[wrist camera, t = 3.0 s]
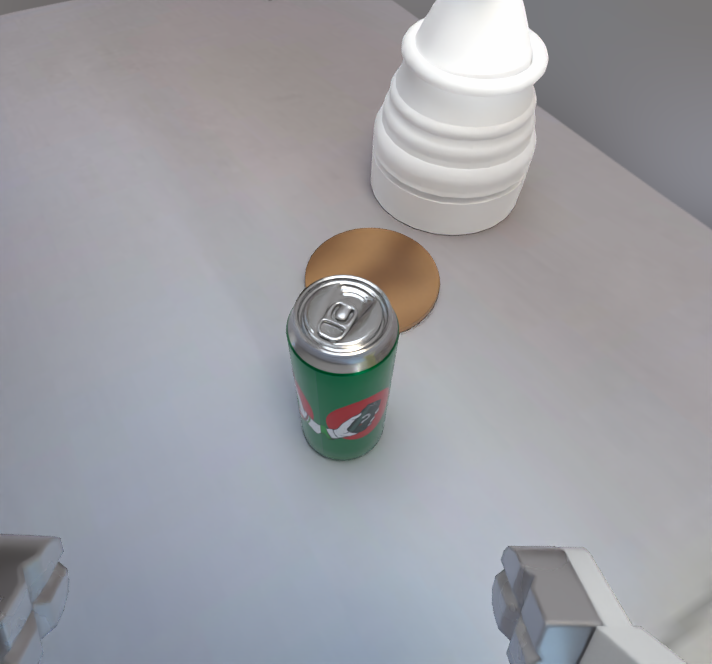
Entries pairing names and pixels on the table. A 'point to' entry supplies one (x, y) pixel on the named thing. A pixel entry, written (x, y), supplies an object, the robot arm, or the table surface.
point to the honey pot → (459, 117)
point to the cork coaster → (382, 269)
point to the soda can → (342, 363)
